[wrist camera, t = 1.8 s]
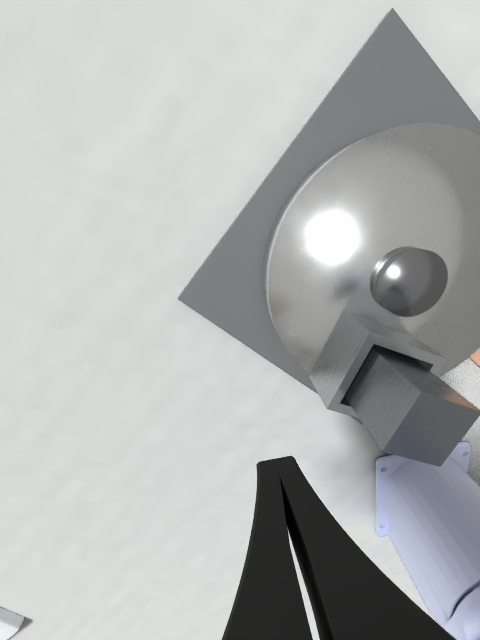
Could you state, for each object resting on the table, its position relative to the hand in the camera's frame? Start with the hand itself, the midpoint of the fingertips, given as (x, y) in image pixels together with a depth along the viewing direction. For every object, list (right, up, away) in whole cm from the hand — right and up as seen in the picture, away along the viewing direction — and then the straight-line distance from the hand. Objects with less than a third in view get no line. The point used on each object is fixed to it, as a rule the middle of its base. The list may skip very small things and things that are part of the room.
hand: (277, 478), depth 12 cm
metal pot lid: (+7, +9, +8) cm, 14 cm away
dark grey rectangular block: (+6, +4, +7) cm, 10 cm away
